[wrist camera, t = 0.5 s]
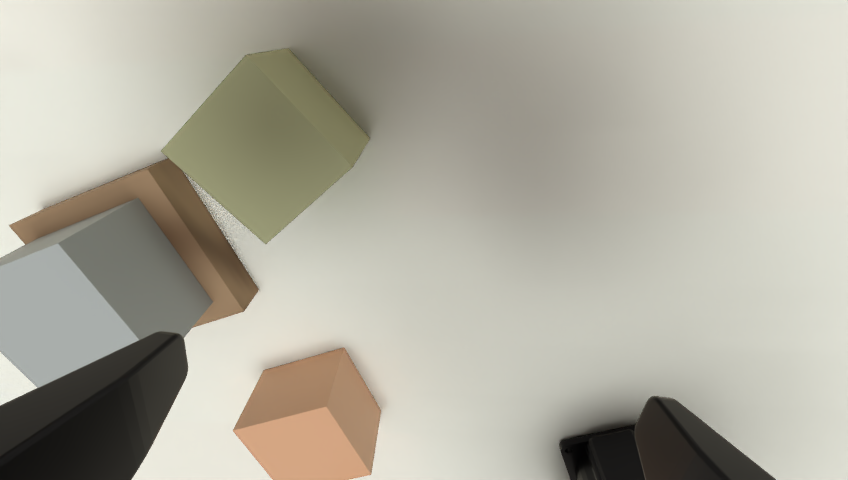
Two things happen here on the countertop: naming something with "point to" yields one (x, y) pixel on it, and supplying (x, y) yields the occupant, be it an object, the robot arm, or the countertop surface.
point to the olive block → (267, 142)
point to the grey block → (93, 292)
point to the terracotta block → (312, 420)
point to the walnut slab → (176, 218)
